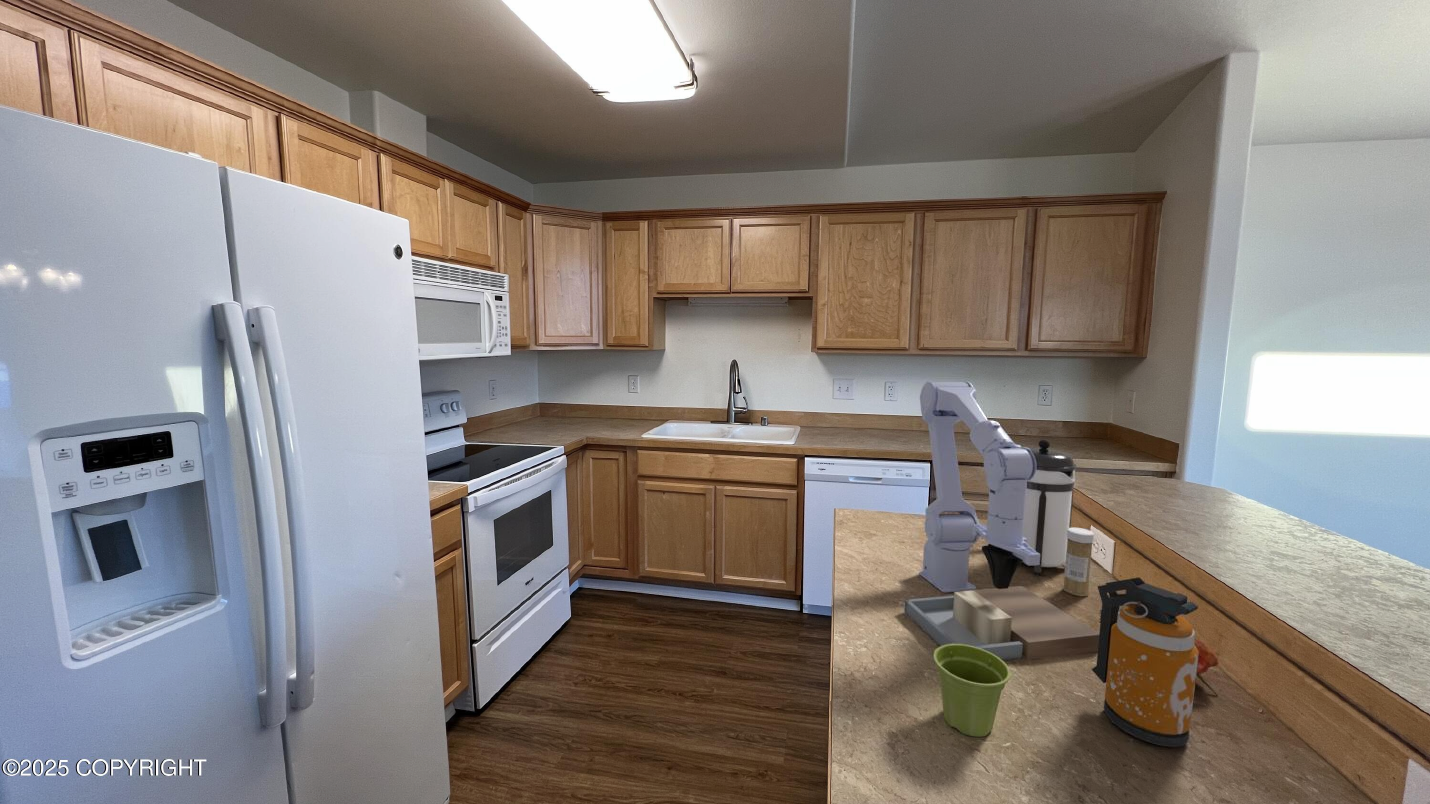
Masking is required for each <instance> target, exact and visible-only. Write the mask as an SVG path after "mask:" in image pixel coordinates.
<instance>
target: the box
mask: <svg viewBox="0 0 1430 804" xmlns="http://www.w3.org/2000/svg"><path fill="white" fill-rule="evenodd" d="M953 605H954V595H945V596H936V597H935V596H934V597H933V596H931V597H924V598H923V597H922V598H912V599H905V600H904V614H906V615H907V616H908V617H909V618H910V619H911V620H912V621H913V622H914V623H915V624H916V625H918V627H919V628H920V629H921V630H922V631H923V632H925V634H926V635H927V636H928V637H930V639H932V640H933V641H934V642H935V643H936V644H937V645H938V646H939V647H940V646H943V645H947V644H964V645H970V646H974V647H978V648H981V649H983V650H986V651H988V652H990V653H992V654H994V655H995V656H997V657H999V658H1000V659H1001V660H1002V661H1007V660H1010V661H1011V660H1017V659H1022V658H1023V656H1022V649H1023V644H1022V643H1021V642H1020V641H1017V642H1008V643H999V644H990V645H986V644H985V643H983V642H982V641H981V640H980V639H979V638H977V637H976V636H975V635H974V634H972V633H971V632H970V631H969V630H968V629H966V628H965V627H964V626H963V625H962V624H960V623H959V622H958V621H957V620H956V619H954V618H953Z"/></svg>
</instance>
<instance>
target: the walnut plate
mask: <svg viewBox="0 0 1430 804" xmlns="http://www.w3.org/2000/svg"><path fill="white" fill-rule="evenodd" d="M969 591H975V592H976V593H978V594H979V595H980V596H982V597H983V598H985V599H986V600H988V601H989V602H990V603H992V604H993V605H995V606H996V607H997V608H999V609H1000V610H1002V611H1003V612H1005V613H1006V614H1007V615H1009V616H1010V617H1012V623H1011V637H1010V642H1017V641H1020V642H1021V643H1022V644H1023V649H1022V658H1025V660H1034V659H1035V660H1036V659H1042V658H1043V659H1045V658H1051V657H1059V656H1068V655H1076V654H1077V655H1078V654H1087V653H1093V652H1094V653H1096V652H1098V643H1099V632H1098V631H1097V630H1095V629H1093V628H1091V627H1090V626H1089V625H1086V624H1085V623H1083V622H1081V621H1080V620H1079V619H1076V618H1075V617H1073V616H1072V615H1070V614H1068V613H1067V612H1065V611H1063V610H1062V609H1060V608H1058V606H1055V605H1053V604H1052V603H1051V602H1050V601H1047V600H1045V599H1044V598H1042V597H1041V596H1039V595H1037V594H1036V593H1034V592H1032V591H1030V590H1029V589H1027V588H1026V587H1024V586H1023V585H1018V586H1017V585H1015V586H1014V585H1013V586H1009V587H1008V588H1007V589H998V588H996V587H993V588H983V589H981V588H979V589H976V590H969ZM958 592H961V591H958Z"/></svg>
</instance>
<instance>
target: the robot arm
mask: <svg viewBox="0 0 1430 804" xmlns="http://www.w3.org/2000/svg"><path fill="white" fill-rule="evenodd" d="M919 402H920V403H919V404H920V411H921V417H922V421H923V422H926V423H927V424H928V425H927V427H928V432H929V441H930V450H931V451H930V452H931V457H932V466H933V467H932V468H933V475H934V484H935V492H936V499H935V500H933V502H931V503H930V504H929V505H928V506H927V507H926V508H925V520H924V530H925V531H924V532H925V536H926V538H927V540H926V542H925V543H924V546H923V556H922V557H923V558H922V560H923V561H922V570H919V571H918V574H919V575H920V576H921V577H923V578H924V579H925V580H927V581H928V582H929V583H930V584H931V585H933V586H934V587H935V588H936V589H938V590H939V591H941V592H942V593H954V592H959V591H969V590H978V589H977V586H975V585H974V584H972V583H971V582H970V581H968V580H969V578H968V577H969V564H970V563H969V562H970V549H971V548H974V544H975V543H977V542H978V541H979V539H980V537H981V538H982V539H984V541H985V542H986V543H988V544H987V545H982V546H981V552H982V553H983V554H984V557H985V559H986V562H987V564H988V568H989V572H990V576H991V581H992V585H993V587H994V588H998V589H1007V588H1008V587H1010V584H1011V581H1012V579H1013V577H1014V574H1015V573H1016V571H1017V570H1018V567H1019V566H1020V565H1021V564H1022V563H1023V562H1022V561H1023V560H1024V561H1025V563H1024V564H1026V565H1027V566H1034V565H1040V554H1039V553H1037V552H1036V551H1034V550H1033V549H1032V548H1031V547H1030V546H1029V545H1028V544H1027V543H1026V542H1027V538H1025V537H1023V530H1024V517H1025V504H1026V490H1027V480H1030V479H1032V478H1033V477H1034V475H1035V473H1036V460H1035V457H1034V455H1033V453H1032V452H1031V450H1030V449H1029V448H1030V447H1026V446H1021V445H1020V444H1016V443H1015V442H1014V441H1013V440H1012V439H1011V437H1010V436H1009V435H1008V434H1007V433H1006V431H1005V430H1004V429H1003V428H1002V426H1001V424H1000V423H999V422H998V421H995V420H989V419H988V418H987V417H986V415H985V413H984V411H983V410H982V409H981V407H980V405H979V404H978V402H977V389H976V388H975V387H974V386H973V384H972V382H970V381H962V382H961V381H959V382H958V381H957V382H956V381H955V382H954V381H951V382H949V381H948V382H947V381H944V382H943V381H941V382H939V381H936V382H935V381H926V382H925V383H924V385H922V388H921V391H920V394H919ZM961 421H962V422H963V423H964V424H965V425H966V427H968V428H969V430H970V432H969V439H970V441H971V442H972V444H973V445H974V447H975V449H976V450H977V451H978V452H979V454H980V455H981V457H982V458H983V459H984V460H983V468H984V473H985V475H986V482H985V484H986V486H987V488H989V490H988V492H989V493H988V506H987V519H986V520H987V521H986V525H985V524H983V523H980V521H979V519H978V516H977V514H976V508H975V506H973V504H971V503H969V502H968V501H967V500H965V499H964V498H963V494H962V486H961V478H960V469H959V461H958V455H957V447H956V439H955V432H954V427H955V425H956V424H957V423H958V422H961ZM954 512H955V513H954Z"/></svg>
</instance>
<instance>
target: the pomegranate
mask: <svg viewBox="0 0 1430 804" xmlns="http://www.w3.org/2000/svg"><path fill="white" fill-rule="evenodd" d="M1194 645H1195V647H1196V648H1197V649H1198V652H1199V654H1198V663H1197V672H1196V677H1197V678H1198V679H1199V680H1200V681H1201V682H1202V683H1203V684H1204V685H1206V686H1207V688H1209V689H1210V690H1211V692H1212V693H1214V694H1215V696H1217V697H1218V696H1219V694H1217V692H1216V691H1214V689H1213V688H1212V687H1211V685H1210V684H1208V682H1206V680H1205V679H1204V678H1203V676H1202V675H1201V674H1204V673H1206V672H1207V671H1208V669H1209V668H1212V667H1216V666H1218V665H1219V664H1220V662H1219V659H1218V657H1217V655H1216V654H1215V652H1214V651H1213V650H1212V649H1211V648H1210V647H1209V646H1208V645H1207V644H1206V643H1204V642H1203V641H1201V640H1199V639H1197V638H1195V637H1194Z"/></svg>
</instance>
